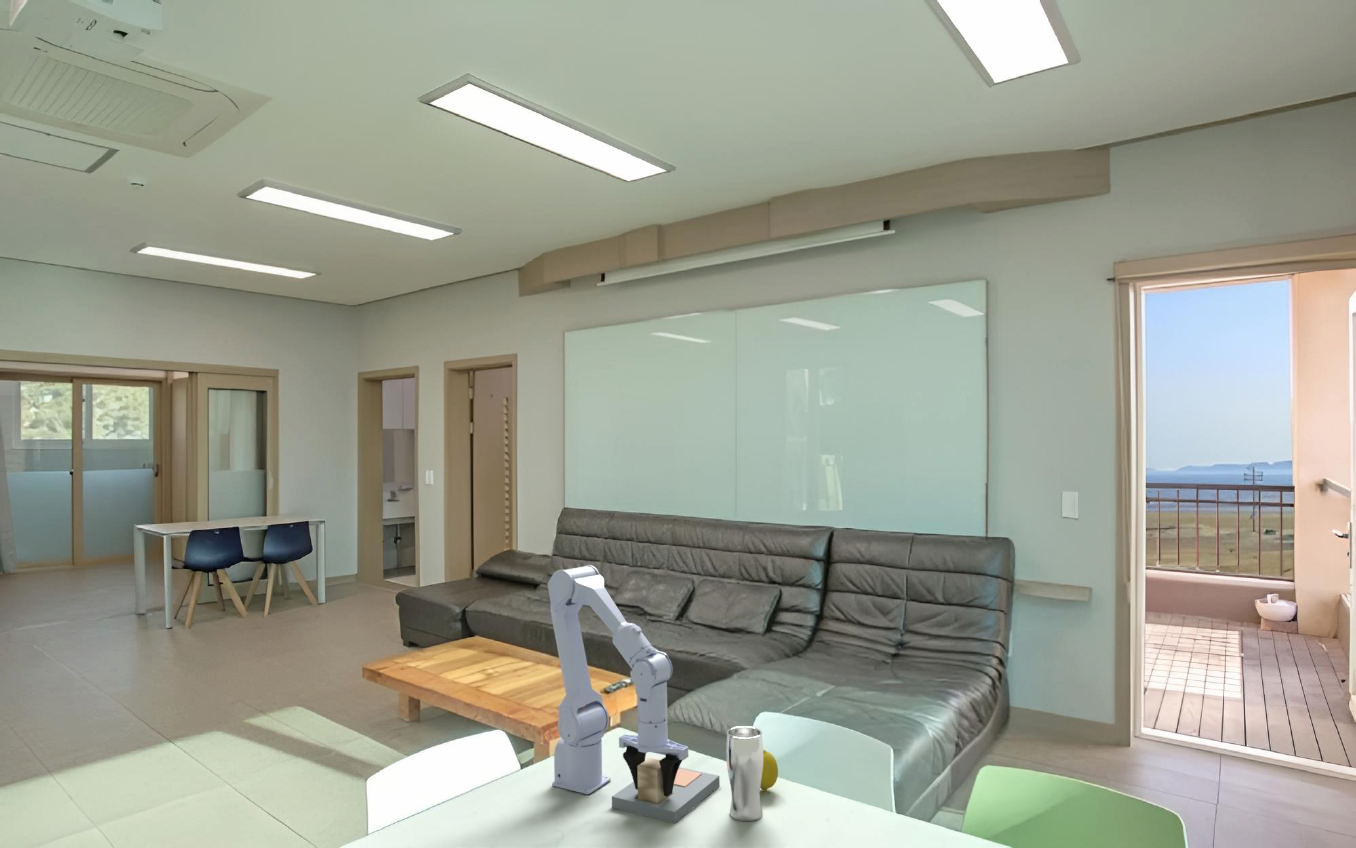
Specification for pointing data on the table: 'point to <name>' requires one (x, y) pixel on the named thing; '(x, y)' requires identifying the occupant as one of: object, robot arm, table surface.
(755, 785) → the beer glass
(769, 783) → the lemon
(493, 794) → the table surface
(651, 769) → the peg
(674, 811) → the pocket board
